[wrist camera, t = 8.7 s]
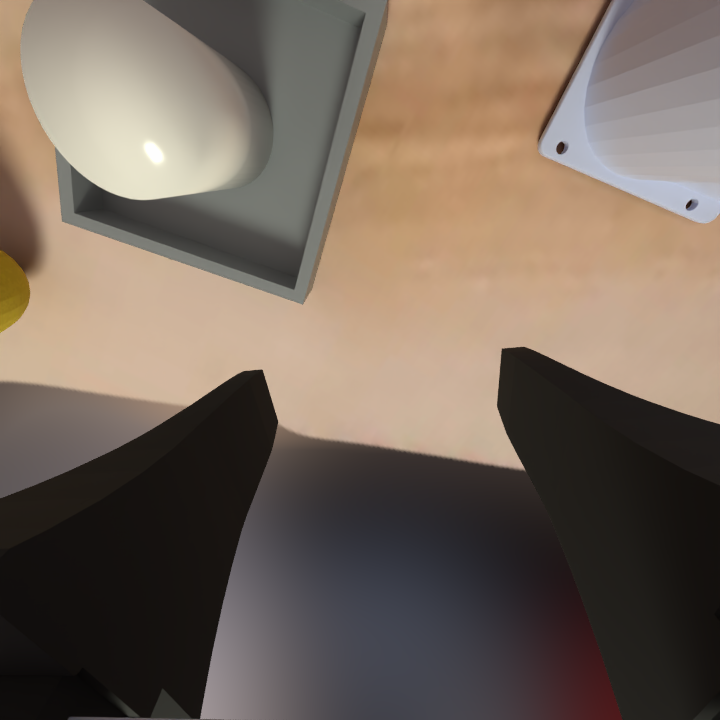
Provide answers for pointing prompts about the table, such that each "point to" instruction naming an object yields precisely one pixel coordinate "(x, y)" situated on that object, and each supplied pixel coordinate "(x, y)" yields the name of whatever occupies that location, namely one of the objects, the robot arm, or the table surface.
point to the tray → (289, 152)
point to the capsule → (141, 100)
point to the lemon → (12, 291)
